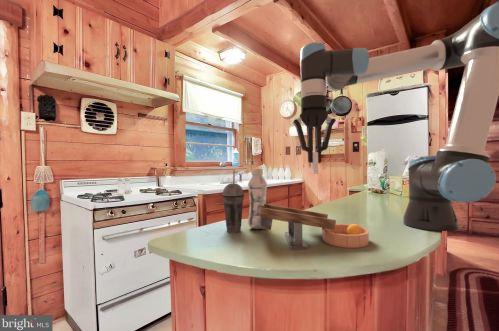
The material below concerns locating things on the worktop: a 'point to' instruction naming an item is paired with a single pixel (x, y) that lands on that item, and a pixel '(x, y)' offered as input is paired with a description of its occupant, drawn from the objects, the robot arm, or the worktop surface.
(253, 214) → the plastic bottle
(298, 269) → the worktop surface
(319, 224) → the trough
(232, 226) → the beverage cup
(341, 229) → the bowl
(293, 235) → the stand
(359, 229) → the ball
